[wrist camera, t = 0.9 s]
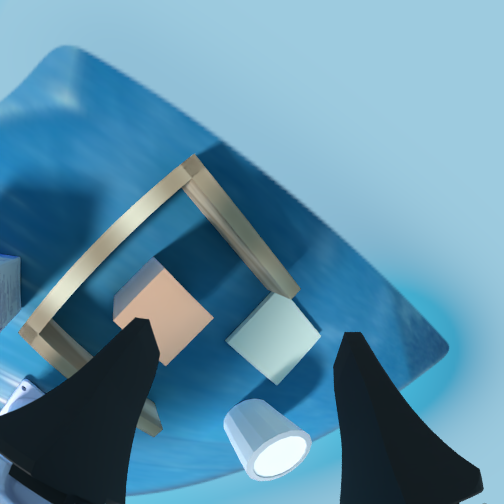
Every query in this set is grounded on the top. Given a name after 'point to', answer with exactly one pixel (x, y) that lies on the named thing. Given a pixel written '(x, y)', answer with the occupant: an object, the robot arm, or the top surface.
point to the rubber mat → (274, 337)
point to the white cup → (265, 440)
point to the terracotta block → (161, 309)
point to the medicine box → (9, 288)
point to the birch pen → (184, 176)
